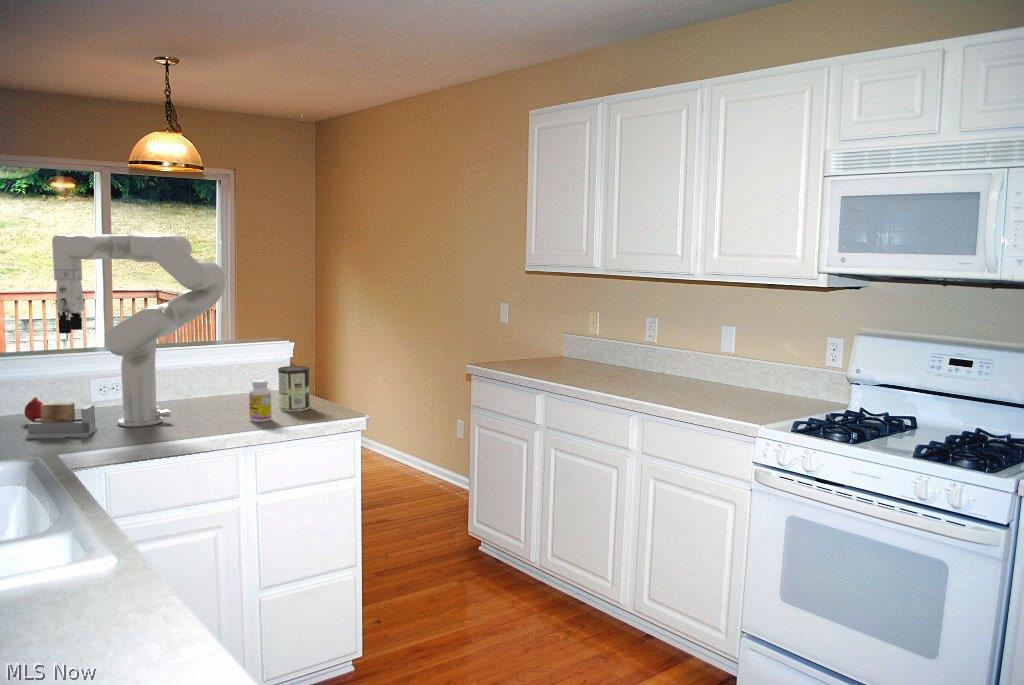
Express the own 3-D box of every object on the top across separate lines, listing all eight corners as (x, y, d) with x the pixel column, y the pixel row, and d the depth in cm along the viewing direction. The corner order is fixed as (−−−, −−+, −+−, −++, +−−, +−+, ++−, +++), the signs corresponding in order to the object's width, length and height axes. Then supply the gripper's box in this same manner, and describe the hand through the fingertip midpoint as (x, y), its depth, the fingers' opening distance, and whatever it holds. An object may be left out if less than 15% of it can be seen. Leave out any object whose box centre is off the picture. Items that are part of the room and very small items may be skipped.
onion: (36, 425, 243) (35, 399, 242) (20, 424, 244) (18, 398, 243) (51, 421, 249) (49, 396, 248) (35, 420, 250) (33, 395, 249)
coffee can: (295, 404, 281) (294, 364, 279) (316, 408, 275) (315, 367, 274) (272, 409, 272) (271, 368, 270) (293, 413, 267) (292, 371, 265)
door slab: (75, 429, 235) (74, 402, 234) (72, 431, 233) (70, 404, 232) (46, 429, 234) (44, 403, 233) (42, 432, 231) (40, 405, 230)
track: (97, 429, 239) (95, 403, 238) (86, 437, 230) (85, 410, 229) (38, 431, 236) (37, 404, 235) (26, 438, 227) (24, 411, 226)
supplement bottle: (245, 420, 256) (244, 380, 254) (264, 417, 260) (263, 378, 259) (256, 423, 251) (255, 383, 249) (275, 420, 256) (274, 380, 254)
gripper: (71, 277, 236) (74, 334, 238) (90, 274, 253) (93, 328, 255) (43, 276, 234) (46, 334, 237) (64, 274, 251) (67, 328, 253)
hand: (70, 331), depth 246 cm, fingers open, 9 cm apart
